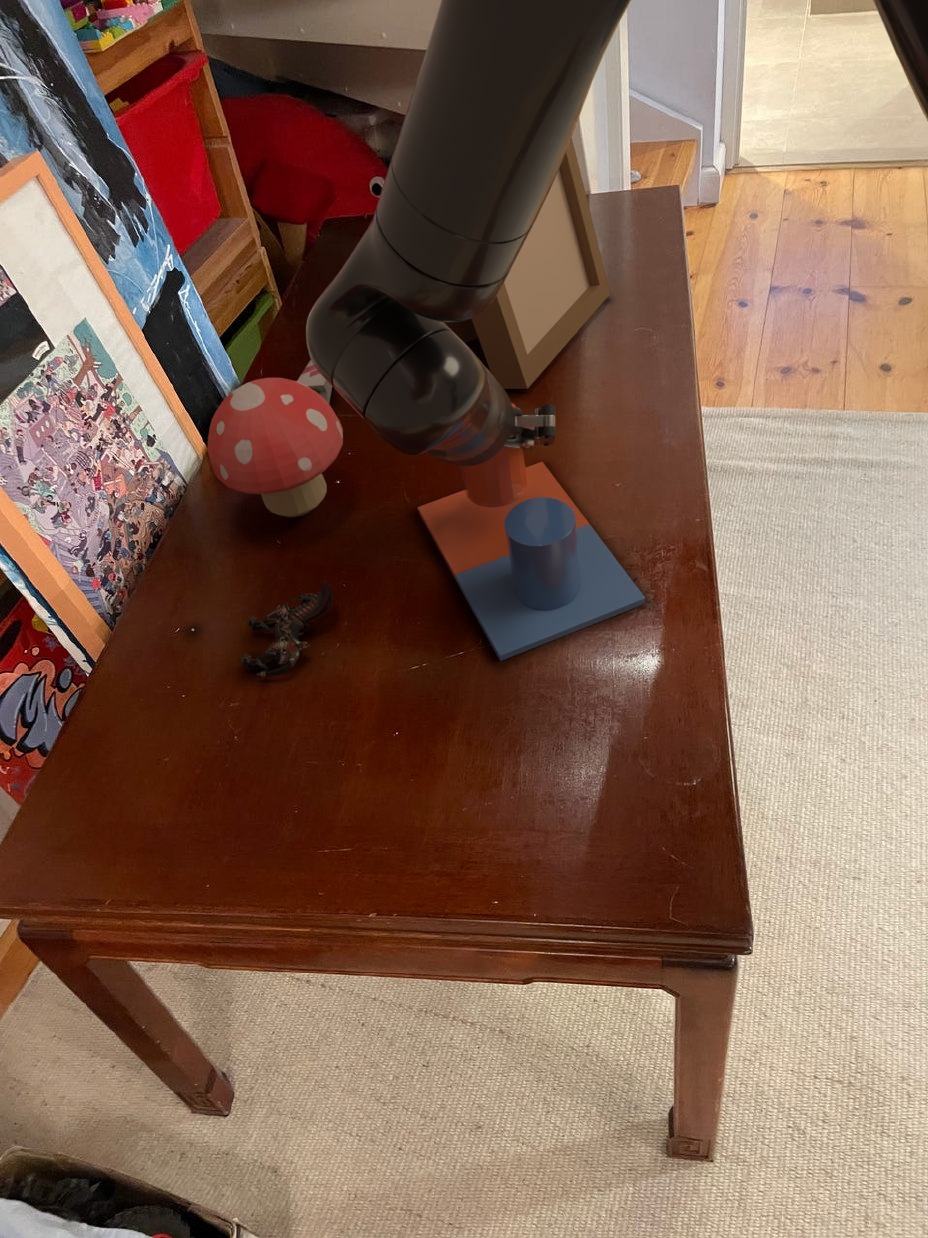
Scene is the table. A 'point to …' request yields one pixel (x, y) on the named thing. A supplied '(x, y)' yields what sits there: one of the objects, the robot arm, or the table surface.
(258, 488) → the decorative mushroom
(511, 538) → the blue cylinder
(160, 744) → the table surface
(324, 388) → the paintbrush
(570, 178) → the photo frame
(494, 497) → the red cup
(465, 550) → the board
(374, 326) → the robot arm
